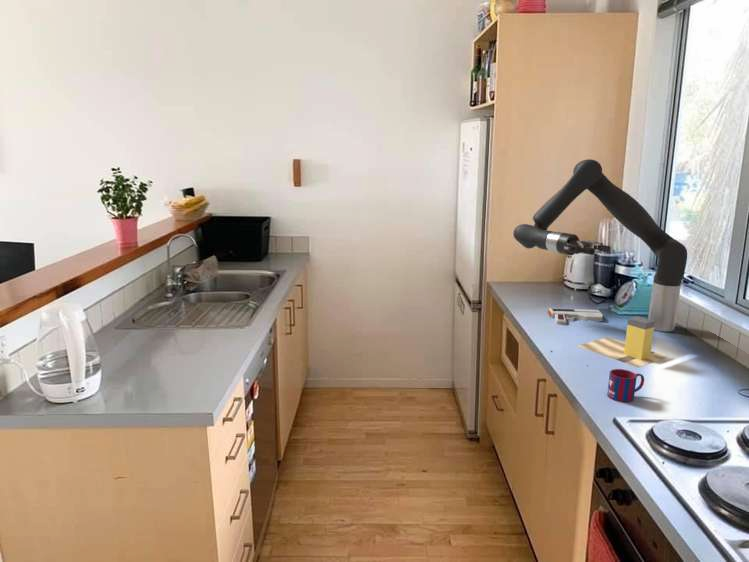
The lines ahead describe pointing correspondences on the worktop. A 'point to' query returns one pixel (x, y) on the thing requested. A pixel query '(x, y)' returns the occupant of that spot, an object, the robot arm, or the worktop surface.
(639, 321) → the yellow spice tin
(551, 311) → the futuristic handgun
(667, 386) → the worktop surface
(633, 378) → the mug
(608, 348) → the plywood panel
